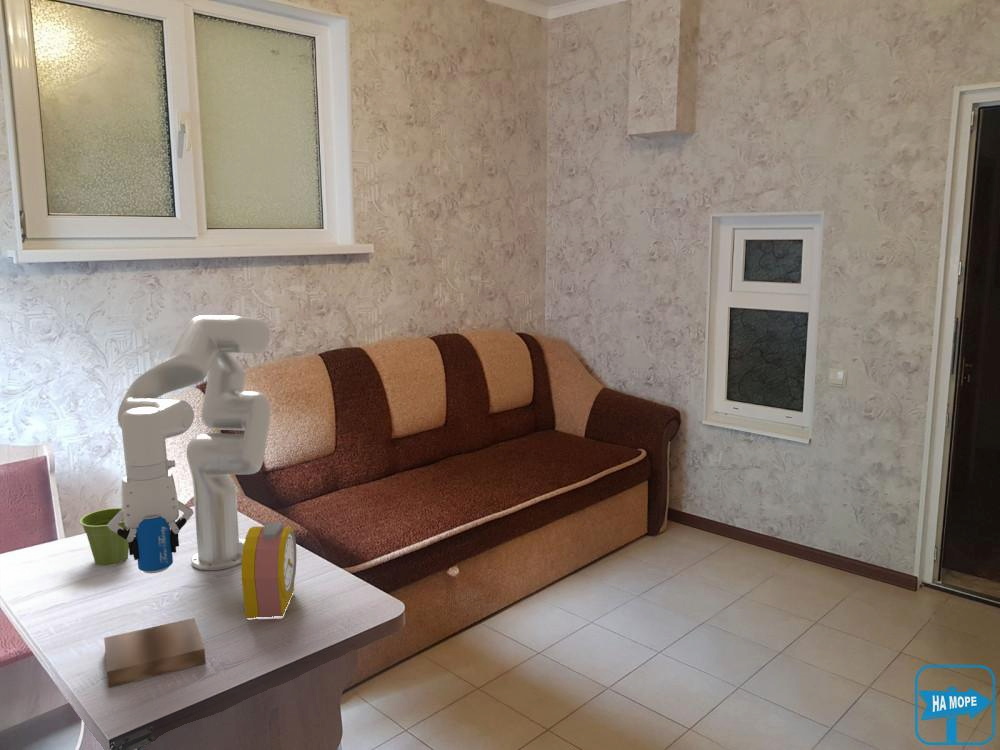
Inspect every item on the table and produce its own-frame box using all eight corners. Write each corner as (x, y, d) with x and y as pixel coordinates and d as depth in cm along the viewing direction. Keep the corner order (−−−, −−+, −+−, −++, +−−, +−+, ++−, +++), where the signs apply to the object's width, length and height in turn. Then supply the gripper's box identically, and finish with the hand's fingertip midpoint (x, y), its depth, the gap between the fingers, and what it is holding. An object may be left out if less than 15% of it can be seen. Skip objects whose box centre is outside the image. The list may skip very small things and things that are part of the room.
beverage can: (151, 578, 150) (145, 521, 148) (131, 570, 154) (126, 514, 151) (180, 565, 156) (175, 510, 153) (160, 558, 159) (155, 504, 157)
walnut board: (195, 631, 152) (194, 617, 151) (205, 663, 140) (204, 648, 140) (105, 652, 144) (104, 637, 143) (108, 687, 133) (107, 671, 132)
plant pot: (77, 559, 185) (73, 515, 183) (129, 546, 193) (126, 504, 191) (91, 575, 176) (87, 529, 174) (145, 561, 184) (141, 517, 182)
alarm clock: (285, 623, 155) (281, 538, 152) (244, 624, 155) (239, 539, 151) (298, 590, 170) (295, 512, 167) (261, 590, 169) (257, 512, 166)
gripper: (191, 458, 158) (197, 538, 161) (97, 471, 149) (106, 555, 153) (196, 468, 151) (202, 552, 155) (98, 482, 143) (107, 570, 147)
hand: (154, 553), depth 154 cm, fingers closed on beverage can, 6 cm apart
